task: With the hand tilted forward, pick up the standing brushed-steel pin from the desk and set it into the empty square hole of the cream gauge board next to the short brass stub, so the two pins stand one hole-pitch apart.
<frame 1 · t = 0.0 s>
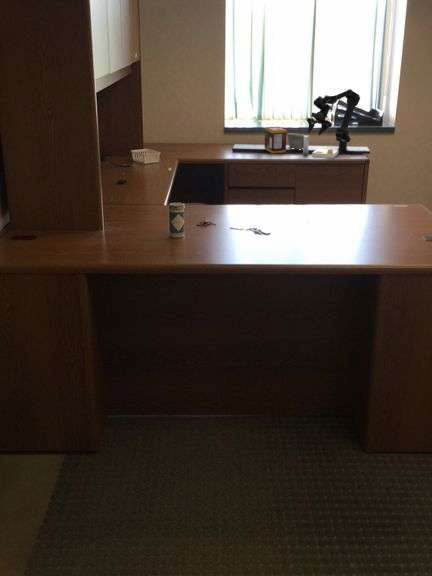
hand: (313, 133, 423), 15 cm above the table, tool tilted 35°, fingers open, 9 cm apart
digital clock: (297, 149, 452), on the table
gauge board: (325, 155, 432), on the table
supplement box: (274, 151, 446), on the table
steel pin: (305, 155, 431), on the table
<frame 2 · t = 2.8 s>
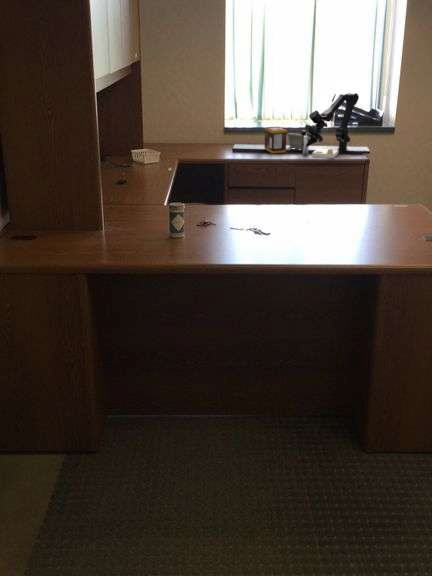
hand: (304, 145, 428), 7 cm above the table, tool tilted 45°, fingers closed on steel pin, 4 cm apart
steel pin: (305, 155, 431), on the table, touching gripper
everything else where it was.
when the fingers open (10 cm above the table, at t = 5.5 s): steel pin drops 3 cm, resting in gauge board.
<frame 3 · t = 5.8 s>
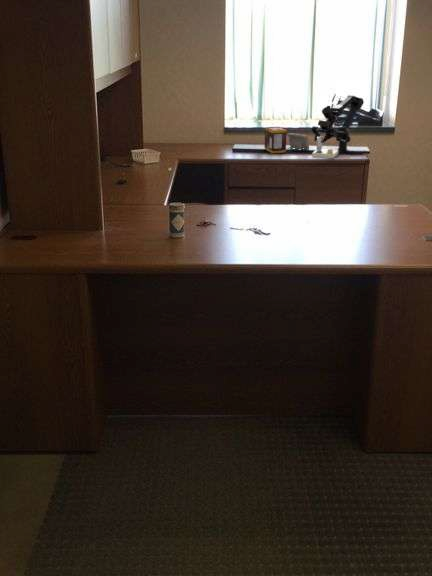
hand: (318, 141, 425), 10 cm above the table, tool tilted 45°, fingers open, 6 cm apart
steel pin: (318, 155, 430), resting in gauge board
everything else where it was.
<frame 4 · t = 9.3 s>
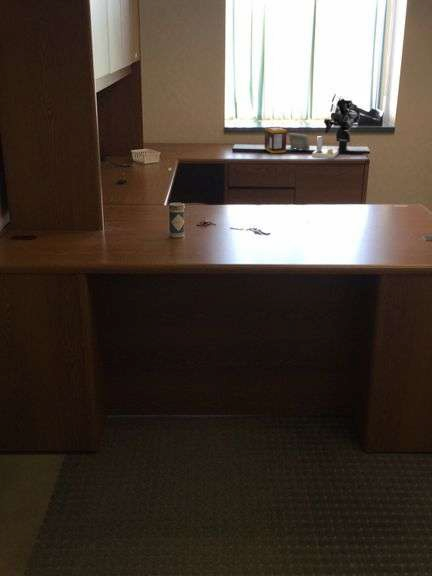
hand: (331, 134, 430), 14 cm above the table, tool tilted 45°, fingers open, 9 cm apart
nothing on the table moved.
at the end: steel pin 0.0 cm from the target spot on the gauge board, point 0.0 cm above the gauge board's base; steel pin tilted 0°; the gripper is holding nothing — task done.
